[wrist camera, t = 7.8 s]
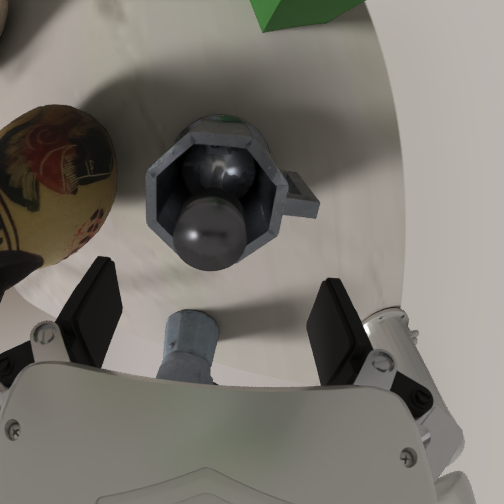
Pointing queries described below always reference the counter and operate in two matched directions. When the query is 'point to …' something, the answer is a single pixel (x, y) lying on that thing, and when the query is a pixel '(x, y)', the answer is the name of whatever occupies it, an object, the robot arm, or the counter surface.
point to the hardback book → (298, 12)
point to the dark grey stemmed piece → (214, 206)
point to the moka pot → (189, 348)
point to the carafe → (253, 201)
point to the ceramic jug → (51, 188)
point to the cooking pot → (3, 13)
